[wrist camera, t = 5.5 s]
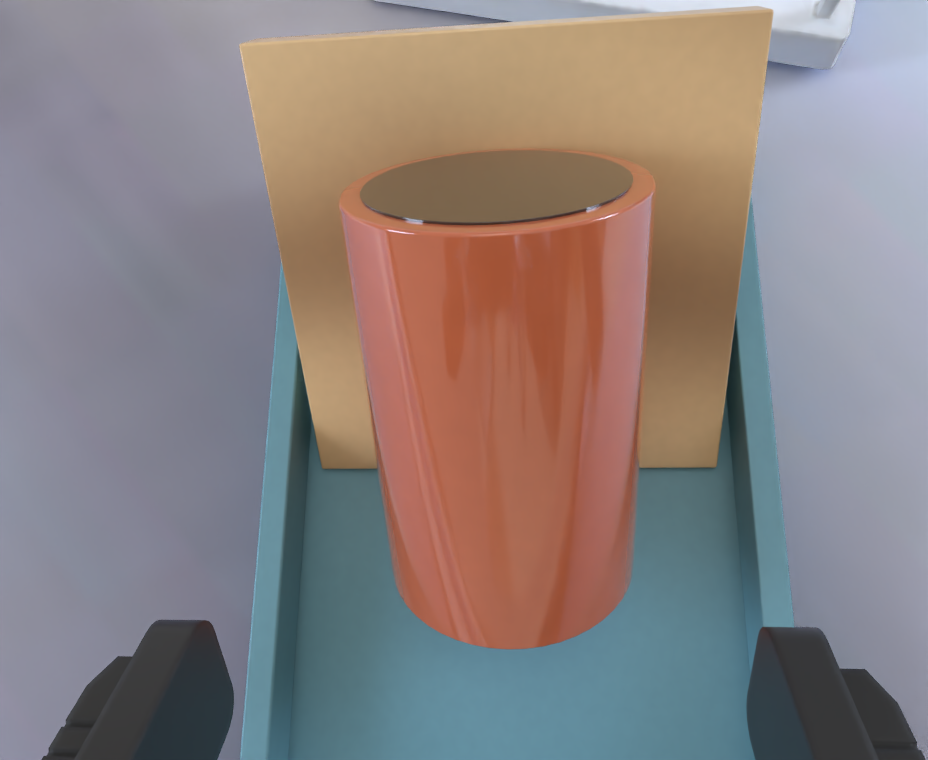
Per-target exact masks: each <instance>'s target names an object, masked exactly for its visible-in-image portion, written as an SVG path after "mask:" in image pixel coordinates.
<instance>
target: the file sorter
mask: <svg viewBox="0 0 928 760" xmlns="http://www.w3.org/2000/svg"><path fill="white" fill-rule="evenodd" d="M374 1H379V2H386V3H393V4H400V5H406V6H413V7H419V8H426V9H432V10H439V11H446V12H453V13H460V14H466V15H473V16H480V17H486V18H493V19H499V20H506V21H512V22H519V21H534V20H550V19H565V18H580V17H595V16H611V15H626V14H641V13H656V12H672V11H687V10H702V9H717V8H733V7H748V6H761V7H765V8H769V9H772V10H773V12H774V14H773V22H772V30H771V38H770V46H769V54H768V61H773V62H778V63H784V64H790V65H796V66H803V67H809V68H815V69H822V70H824V69H831V68H832V67H833V66H834V65H835V63H836V61H837V59H838V57H839V54H840V52H841V50H842V48H843V46H844V44H845V42H846V40H847V38H848V37H849V35H850V30H851V25H852V20H853V14H854V9H855V3H856V0H374Z"/></svg>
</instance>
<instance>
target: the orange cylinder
mask: <svg viewBox="0 0 928 760" xmlns="http://www.w3.org/2000/svg"><path fill="white" fill-rule="evenodd" d="M656 190H657V184H656V181H655V178H654V176H653V175H652V174H651V173H650V172H649V171H648V170H646V169H645V168H643V167H641V166H639V165H637V164H635V163H632V162H629V161H627V160H624V159H620V158H616V157H612V156H608V155H603V154H597V153H590V152H583V151H573V150H560V149H496V150H481V151H470V152H461V153H453V154H446V155H440V156H433V157H428V158H423V159H418V160H413V161H409V162H404V163H401V164H397V165H393V166H390V167H387V168H384V169H381V170H378V171H375V172H373V173H370V174H368V175H366V176H364V177H362V178H360V179H358V180H356V181H354V182H353V183H351V184H350V185H348V186H347V187H346V188H345V189H344V190H343V191H342V192H341V194H340V196H339V199H338V209H339V215H340V222H341V229H342V235H343V242H344V249H345V256H346V262H347V269H348V276H349V282H350V289H351V296H352V303H353V309H354V316H355V323H356V329H357V336H358V343H359V350H360V356H361V363H362V370H363V376H364V383H365V390H366V397H367V403H368V410H369V417H370V424H371V430H372V437H373V444H374V450H375V457H376V464H377V471H378V477H379V484H380V491H381V497H382V504H383V511H384V518H385V524H386V531H387V538H388V544H389V551H390V558H391V565H392V571H393V577H394V581H395V585H396V587H397V590H398V592H399V594H400V596H401V598H402V599H403V601H404V602H405V604H406V605H407V607H408V608H409V609H410V610H411V611H412V612H413V613H414V614H415V615H416V616H417V617H418V618H419V619H420V620H421V621H423V622H424V623H425V624H427V625H428V626H429V627H431V628H433V629H434V630H436V631H438V632H439V633H441V634H443V635H445V636H448V637H450V638H452V639H455V640H457V641H460V642H464V643H467V644H470V645H474V646H480V647H485V648H492V649H506V650H513V649H530V648H537V647H544V646H548V645H552V644H556V643H560V642H563V641H565V640H568V639H571V638H574V637H576V636H578V635H580V634H582V633H584V632H586V631H588V630H590V629H591V628H593V627H594V626H596V625H597V624H598V623H600V622H601V621H603V620H604V619H605V618H606V617H607V616H608V615H609V614H610V613H611V612H612V611H613V610H614V609H615V608H616V607H617V605H618V604H619V603H620V602H621V600H622V599H623V597H624V595H625V593H626V592H627V590H628V588H629V585H630V582H631V578H632V573H633V565H634V549H635V533H636V517H637V500H638V484H639V468H640V451H641V435H642V419H643V402H644V386H645V370H646V353H647V337H648V321H649V304H650V288H651V272H652V256H653V239H654V223H655V207H656Z"/></svg>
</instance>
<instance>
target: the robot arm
mask: <svg viewBox="0 0 928 760" xmlns="http://www.w3.org/2000/svg"><path fill="white" fill-rule="evenodd" d="M233 705H234V693H233V687H232V683H231V680H230V677H229V674H228V670H227V667H226V664H225V661H224V658H223V655H222V652H221V649H220V646H219V643H218V640H217V636H216V633H215V630H214V628H213V626H212V624H211V623H210V622H209V621H206V620H158V621H156V622H154V623H153V624H152V625H151V626H150V628H149V629H148V631H147V632H146V634H145V636H144V638H143V639H142V641H141V643H140V645H139V646H138V648H137V650H136V652H135V653H134V655H133V657H123V656H118V657H117V658H116V659H115V660H114V661H113V662H111V663H110V664H109V665H108V666H107V667H106V668H105V669H104V670H103V671H102V672H101V673H100V674H99V675H98V676H97V677H96V678H94V679H93V680H92V681H91V682H90V683H89V684H88V685H87V686H86V688H85V689H84V691H83V693H82V694H81V696H80V698H79V699H78V701H77V703H76V704H75V706H74V708H73V709H72V711H71V712H70V714H69V716H68V717H67V719H66V725H65V727H61V729H60V731H59V732H58V734H57V735H56V737H55V739H54V740H53V742H52V744H51V745H50V747H49V753H48V755H47V756H44V757H43V758H42V760H217V758H218V756H219V753H220V751H221V748H222V746H223V743H224V741H225V738H226V735H227V733H228V730H229V727H230V723H231V719H232V714H233ZM746 710H747V724H748V731H749V736H750V741H751V745H752V749H753V752H754V756H755V760H925V758H924V756H923V754H922V752H921V750H918V748H917V742H916V740H915V738H914V736H913V734H912V731H911V729H910V727H909V725H908V723H907V721H906V719H905V717H904V715H903V713H902V711H901V709H900V707H899V705H898V703H897V702H896V701H895V700H894V699H893V698H892V697H891V696H890V695H889V694H888V693H887V692H886V691H885V690H884V688H883V687H882V686H881V685H880V684H879V683H878V682H877V681H876V680H875V679H874V678H873V677H872V676H871V675H870V674H869V673H868V672H867V671H866V670H865V669H839V666H838V664H837V662H836V659H835V657H834V655H833V652H832V650H831V648H830V646H829V643H828V641H827V639H826V637H825V635H824V634H823V632H822V631H821V630H820V629H819V628H810V627H762V628H761V629H760V631H759V634H758V638H757V644H756V649H755V655H754V660H753V666H752V671H751V677H750V682H749V688H748V693H747V703H746Z"/></svg>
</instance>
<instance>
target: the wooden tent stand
mask: <svg viewBox="0 0 928 760" xmlns="http://www.w3.org/2000/svg"><path fill="white" fill-rule="evenodd" d="M773 14H774V12H773V10H772V9H769V8H765V7H761V6H748V7H733V8H717V9H702V10H687V11H672V12H656V13H641V14H626V15H611V16H595V17H580V18H565V19H550V20H534V21H519V22H504V23H489V24H473V25H458V26H443V27H428V28H412V29H397V30H382V31H367V32H351V33H336V34H321V35H306V36H290V37H275V38H260V39H254V40H251V41H247V42H244V43H241V44H240V46H239V47H240V52H241V58H242V63H243V68H244V73H245V78H246V83H247V88H248V93H249V98H250V104H251V109H252V114H253V119H254V124H255V129H256V134H257V139H258V144H259V149H260V155H261V160H262V165H263V170H264V175H265V180H266V185H267V190H268V195H269V201H270V206H271V211H272V216H273V221H274V226H275V231H276V236H277V241H278V247H279V252H280V257H281V262H282V267H283V272H284V277H285V282H286V287H287V292H288V298H289V303H290V308H291V313H292V318H293V323H294V328H295V333H296V338H297V344H298V349H299V354H300V359H301V364H302V369H303V374H304V379H305V384H306V390H307V395H308V400H309V405H310V410H311V415H312V420H313V425H314V430H315V436H316V441H317V446H318V451H319V456H320V461H321V466H322V469H377V464H376V457H375V450H374V444H373V437H372V430H371V424H370V417H369V410H368V403H367V397H366V390H365V383H364V376H363V370H362V363H361V356H360V350H359V343H358V336H357V329H356V323H355V316H354V309H353V303H352V296H351V289H350V282H349V276H348V269H347V262H346V256H345V249H344V242H343V235H342V229H341V222H340V215H339V209H338V199H339V196H340V194H341V192H342V191H343V190H344V189H345V188H346V187H347V186H348V185H350V184H351V183H353V182H354V181H356V180H358V179H360V178H362V177H364V176H366V175H368V174H370V173H373V172H375V171H378V170H381V169H384V168H387V167H390V166H393V165H397V164H401V163H404V162H409V161H413V160H418V159H423V158H428V157H433V156H440V155H446V154H453V153H461V152H470V151H481V150H496V149H560V150H573V151H583V152H590V153H597V154H603V155H608V156H612V157H616V158H620V159H624V160H627V161H629V162H632V163H635V164H637V165H639V166H641V167H643V168H645V169H646V170H648V171H649V172H650V173H651V174H652V175H653V176H654V178H655V181H656V184H657V190H656V207H655V223H654V239H653V256H652V272H651V288H650V304H649V321H648V337H647V353H646V370H645V386H644V402H643V419H642V435H641V451H640V468H715V467H716V466H717V461H718V453H719V445H720V437H721V429H722V421H723V413H724V405H725V397H726V389H727V381H728V373H729V365H730V357H731V349H732V341H733V333H734V325H735V317H736V309H737V301H738V293H739V285H740V277H741V269H742V261H743V253H744V245H745V237H746V229H747V222H748V214H749V206H750V198H751V190H752V182H753V174H754V166H755V158H756V150H757V142H758V134H759V126H760V118H761V110H762V102H763V94H764V86H765V78H766V70H767V62H768V54H769V46H770V38H771V30H772V22H773Z"/></svg>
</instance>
